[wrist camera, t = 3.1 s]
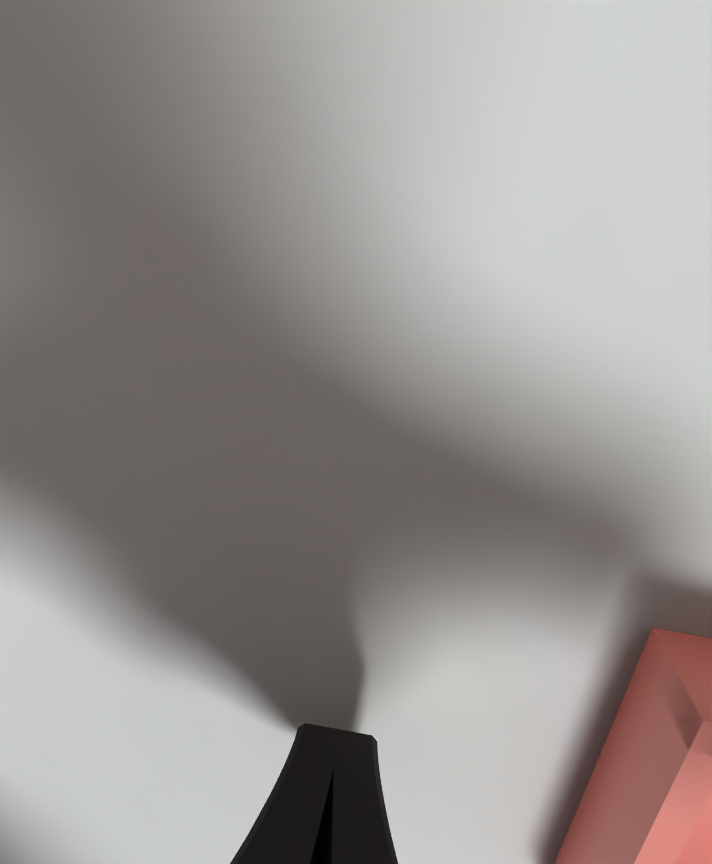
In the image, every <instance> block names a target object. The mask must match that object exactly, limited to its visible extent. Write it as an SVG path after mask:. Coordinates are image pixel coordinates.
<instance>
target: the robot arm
mask: <svg viewBox="0 0 712 864" xmlns="http://www.w3.org/2000/svg"><path fill="white" fill-rule="evenodd" d="M230 864H398V862H397V858H396V853H395V849H394V845H393V841H392V837H391V833H390V828H389V823H388V819H387V814H386V808H385V803H384V797H383V792H382V786H381V779H380V772H379V763H378V752H377V741H376V740H375V738H374V737H373V736H372V735H366V734H361V733H356V732H350V731H345V730H339V729H334V728H328V727H323V726H318V725H312V724H307V723H305V724H303V725H301V726H299V727H298V730H297V733H296V737H295V740H294V743H293V745H292V748H291V750H290V753H289V755H288V758H287V760H286V763H285V765H284V767H283V769H282V771H281V773H280V776H279V778H278V780H277V782H276V784H275V786H274V788H273V790H272V792H271V794H270V796H269V798H268V799H267V801H266V803H265V805H264V807H263V808H262V810H261V812H260V814H259V816H258V818H257V819H256V821H255V823H254V825H253V827H252V829H251V830H250V832H249V834H248V836H247V837H246V839H245V841H244V842H243V844H242V846H241V847H240V849H239V850H238V852H237V854H236V855H235V857H234V858H233V860H232V862H231V863H230Z"/></svg>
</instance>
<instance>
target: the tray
mask: <svg viewBox="0 0 712 864" xmlns="http://www.w3.org/2000/svg"><path fill="white" fill-rule="evenodd" d="M555 864H712V638H707V637H702V636H696V635H691V634H685V633H680V632H674V631H668V630H663V629H657V628H652V630H651V632H650V634H649V637H648V639H647V642H646V644H645V647H644V649H643V651H642V654H641V656H640V659H639V661H638V663H637V666H636V668H635V671H634V673H633V676H632V678H631V680H630V683H629V685H628V688H627V690H626V692H625V695H624V697H623V700H622V702H621V704H620V707H619V709H618V712H617V714H616V717H615V719H614V721H613V724H612V726H611V729H610V731H609V733H608V736H607V738H606V741H605V743H604V746H603V748H602V750H601V753H600V755H599V758H598V760H597V762H596V765H595V767H594V770H593V772H592V774H591V777H590V779H589V782H588V784H587V787H586V789H585V791H584V794H583V796H582V799H581V801H580V803H579V806H578V808H577V811H576V813H575V816H574V818H573V820H572V823H571V825H570V828H569V830H568V832H567V835H566V837H565V840H564V842H563V844H562V847H561V849H560V852H559V854H558V857H557V859H556V861H555Z"/></svg>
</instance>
